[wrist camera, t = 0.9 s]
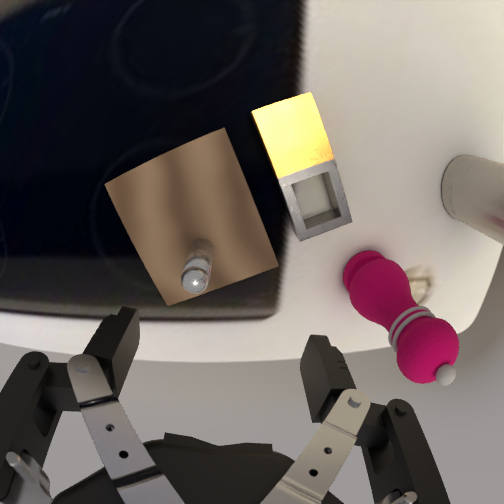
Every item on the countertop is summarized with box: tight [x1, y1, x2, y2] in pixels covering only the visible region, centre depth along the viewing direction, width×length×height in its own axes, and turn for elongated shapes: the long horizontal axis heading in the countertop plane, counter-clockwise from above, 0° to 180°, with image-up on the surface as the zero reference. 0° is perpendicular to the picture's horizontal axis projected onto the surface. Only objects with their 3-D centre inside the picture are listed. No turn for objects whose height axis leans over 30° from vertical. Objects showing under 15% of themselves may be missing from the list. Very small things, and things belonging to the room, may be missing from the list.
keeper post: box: [181, 239, 214, 294], centre depth 28 cm, size 2×2×8 cm
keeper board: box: [105, 128, 279, 306], centre depth 32 cm, size 14×16×2 cm
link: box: [250, 92, 352, 242], centre depth 29 cm, size 6×14×3 cm, turn 21°
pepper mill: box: [343, 250, 459, 385], centre depth 27 cm, size 7×7×20 cm
